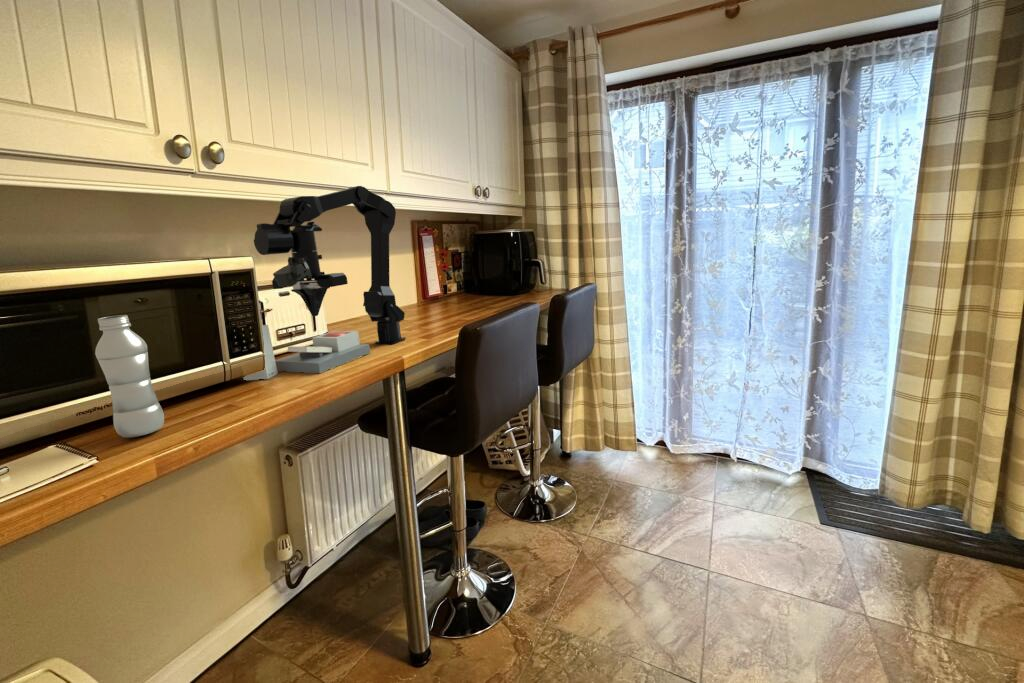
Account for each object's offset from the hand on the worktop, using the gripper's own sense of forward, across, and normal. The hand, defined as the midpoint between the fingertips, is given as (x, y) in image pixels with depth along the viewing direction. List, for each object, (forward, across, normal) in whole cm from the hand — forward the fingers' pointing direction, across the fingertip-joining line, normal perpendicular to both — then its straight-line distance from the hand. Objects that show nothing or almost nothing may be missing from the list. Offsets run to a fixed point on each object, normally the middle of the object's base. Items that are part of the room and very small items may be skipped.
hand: (315, 315), depth 117 cm
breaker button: (+9, 0, +6) cm, 11 cm away
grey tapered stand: (+12, -6, -14) cm, 19 cm away
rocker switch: (+8, 0, -4) cm, 8 cm away
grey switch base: (+12, 0, 0) cm, 12 cm away
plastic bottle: (+12, +2, -44) cm, 45 cm away
